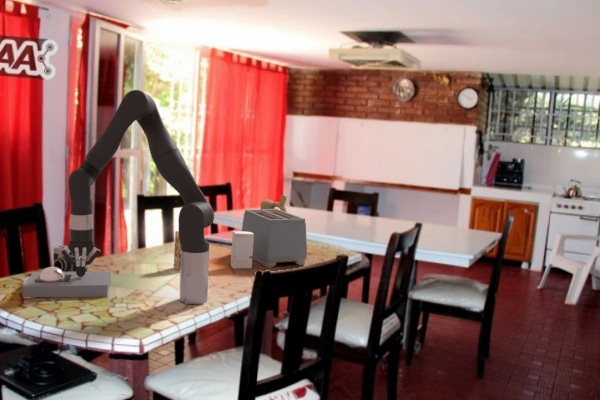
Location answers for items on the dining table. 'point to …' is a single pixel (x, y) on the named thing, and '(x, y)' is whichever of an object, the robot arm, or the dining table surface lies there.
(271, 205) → the tan irregular piece
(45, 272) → the ball
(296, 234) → the toaster
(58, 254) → the camera
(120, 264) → the dining table surface
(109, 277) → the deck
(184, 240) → the robot arm
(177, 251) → the candy box
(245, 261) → the skincare box
